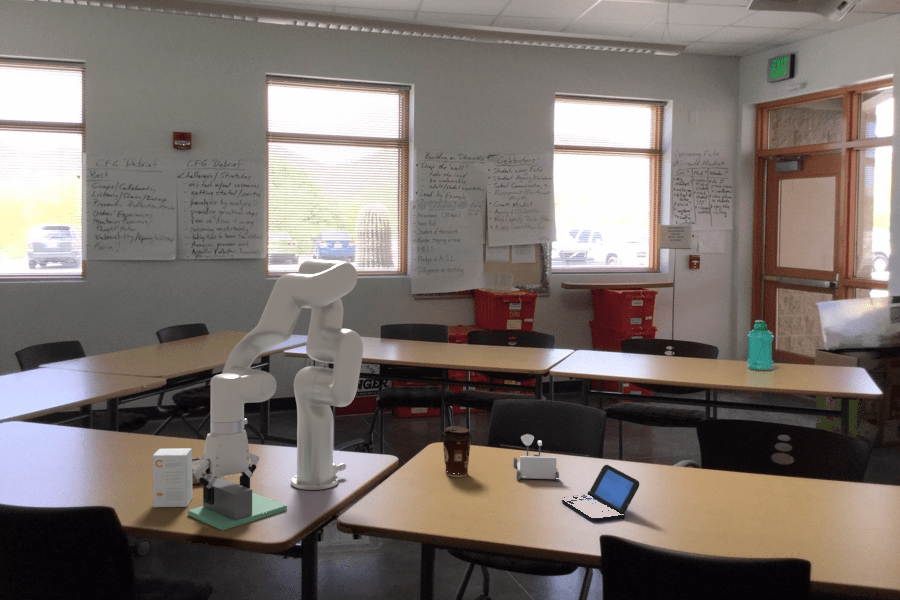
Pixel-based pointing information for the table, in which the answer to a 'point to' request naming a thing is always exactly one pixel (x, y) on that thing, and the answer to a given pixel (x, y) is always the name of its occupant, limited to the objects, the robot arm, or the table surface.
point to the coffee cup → (456, 450)
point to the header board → (223, 522)
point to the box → (196, 463)
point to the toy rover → (535, 463)
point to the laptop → (610, 492)
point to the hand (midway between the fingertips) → (227, 498)
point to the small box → (172, 477)
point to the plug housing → (231, 499)
